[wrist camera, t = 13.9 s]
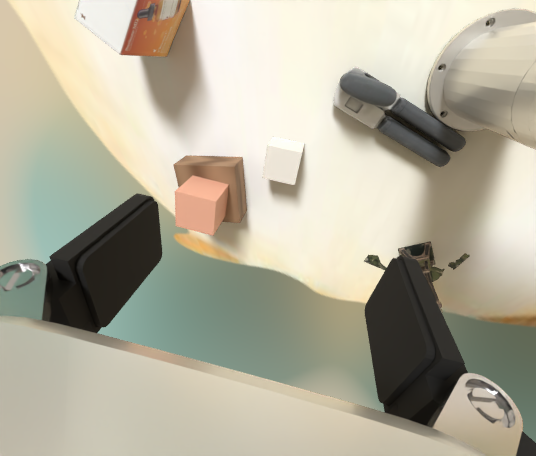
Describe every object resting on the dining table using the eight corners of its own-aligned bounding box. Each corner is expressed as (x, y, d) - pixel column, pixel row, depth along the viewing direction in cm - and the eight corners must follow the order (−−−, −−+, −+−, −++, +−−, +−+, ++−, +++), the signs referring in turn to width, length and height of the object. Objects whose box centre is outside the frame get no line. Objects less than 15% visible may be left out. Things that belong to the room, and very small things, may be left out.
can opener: (326, 98, 37) (326, 105, 32) (348, 60, 34) (352, 61, 29) (434, 165, 39) (451, 182, 34) (463, 135, 36) (487, 148, 31)
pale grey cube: (304, 143, 41) (302, 152, 36) (297, 173, 43) (294, 185, 39) (273, 136, 41) (267, 145, 37) (268, 166, 44) (262, 177, 40)
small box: (167, 57, 37) (120, 57, 29) (132, 28, 36) (72, 19, 28) (192, -2, 33) (145, -23, 25) (153, -38, 32) (90, -73, 23)
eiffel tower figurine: (361, 259, 51) (371, 314, 40) (393, 219, 45) (415, 271, 34) (430, 288, 52) (458, 350, 41) (470, 252, 46) (516, 313, 35)
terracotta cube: (228, 184, 41) (215, 201, 36) (225, 215, 45) (213, 235, 40) (192, 175, 42) (175, 191, 37) (192, 207, 45) (175, 225, 40)
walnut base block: (242, 156, 44) (234, 166, 40) (247, 209, 49) (240, 222, 45) (187, 154, 45) (173, 164, 41) (197, 205, 51) (186, 218, 47)
